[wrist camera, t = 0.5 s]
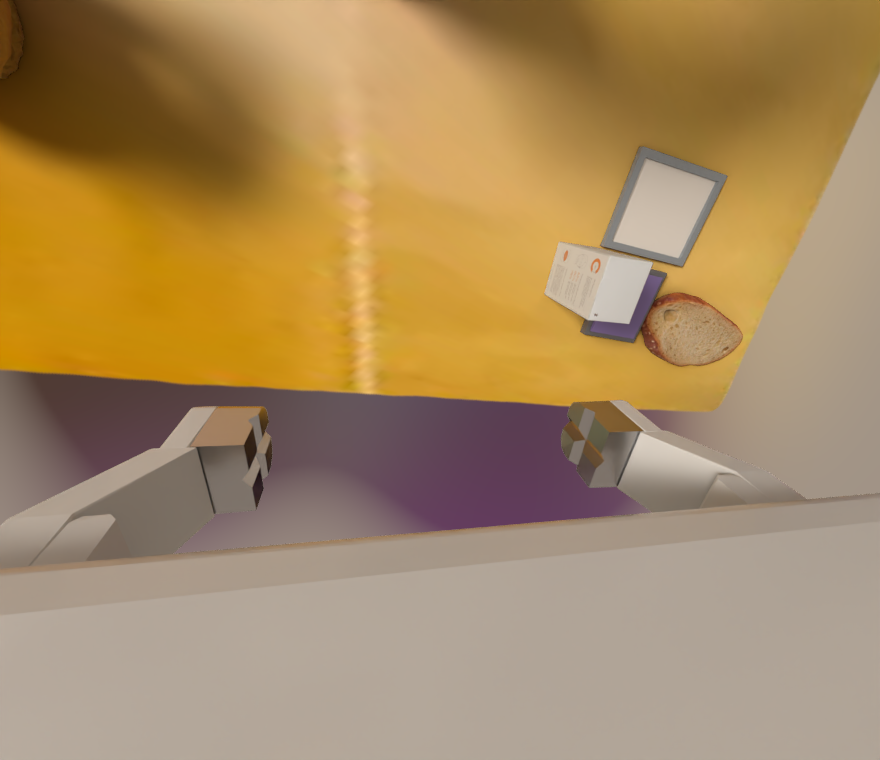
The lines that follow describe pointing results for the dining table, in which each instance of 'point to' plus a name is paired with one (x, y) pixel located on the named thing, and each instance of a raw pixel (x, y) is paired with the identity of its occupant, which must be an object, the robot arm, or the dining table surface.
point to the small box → (597, 282)
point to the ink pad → (642, 308)
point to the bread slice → (688, 331)
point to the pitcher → (9, 38)
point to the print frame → (662, 207)
